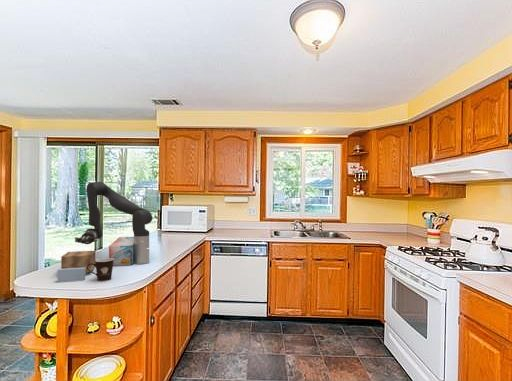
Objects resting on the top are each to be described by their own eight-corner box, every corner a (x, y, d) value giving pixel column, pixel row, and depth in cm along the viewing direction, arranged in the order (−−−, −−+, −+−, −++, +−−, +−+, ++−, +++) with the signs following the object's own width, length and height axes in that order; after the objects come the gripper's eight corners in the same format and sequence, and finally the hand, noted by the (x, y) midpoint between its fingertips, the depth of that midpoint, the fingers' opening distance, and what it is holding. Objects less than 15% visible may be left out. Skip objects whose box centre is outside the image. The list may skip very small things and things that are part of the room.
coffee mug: (116, 277, 167) (116, 258, 167) (109, 281, 158) (109, 261, 158) (93, 277, 166) (94, 258, 166) (85, 281, 158) (85, 261, 158)
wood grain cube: (95, 265, 184) (95, 250, 184) (90, 271, 171) (90, 255, 171) (68, 267, 180) (68, 251, 180) (61, 273, 166) (61, 256, 167)
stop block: (85, 278, 163) (85, 267, 163) (84, 280, 160) (84, 268, 160) (58, 280, 159) (58, 268, 159) (57, 282, 157) (57, 270, 157)
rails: (91, 268, 184) (91, 265, 184) (83, 279, 162) (83, 276, 162) (72, 269, 181) (72, 266, 181) (61, 280, 159) (61, 277, 159)
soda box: (132, 266, 192) (133, 244, 192) (108, 267, 189) (108, 245, 189) (138, 253, 232) (138, 235, 232) (118, 254, 228) (118, 236, 228)
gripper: (77, 231, 199) (70, 235, 183) (100, 231, 203) (95, 235, 187) (77, 243, 199) (70, 248, 183) (100, 242, 203) (95, 247, 187)
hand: (82, 241), depth 185 cm, fingers closed
